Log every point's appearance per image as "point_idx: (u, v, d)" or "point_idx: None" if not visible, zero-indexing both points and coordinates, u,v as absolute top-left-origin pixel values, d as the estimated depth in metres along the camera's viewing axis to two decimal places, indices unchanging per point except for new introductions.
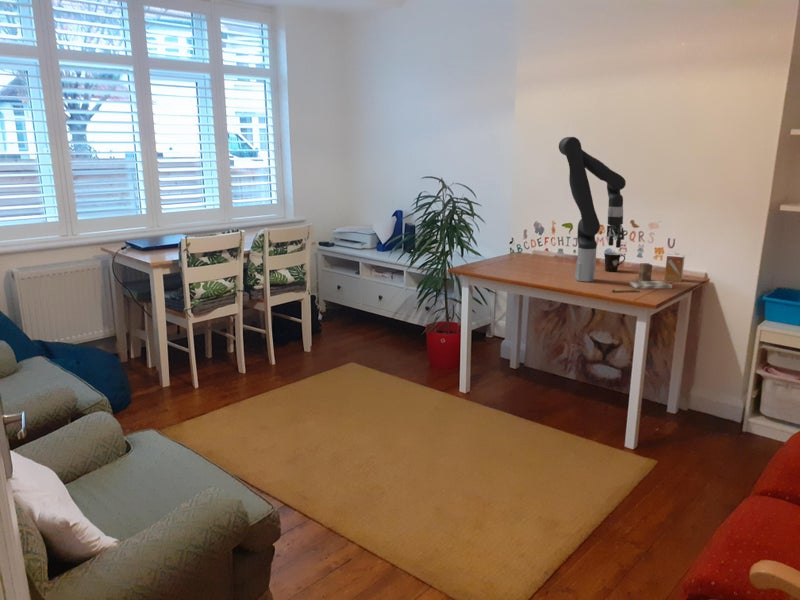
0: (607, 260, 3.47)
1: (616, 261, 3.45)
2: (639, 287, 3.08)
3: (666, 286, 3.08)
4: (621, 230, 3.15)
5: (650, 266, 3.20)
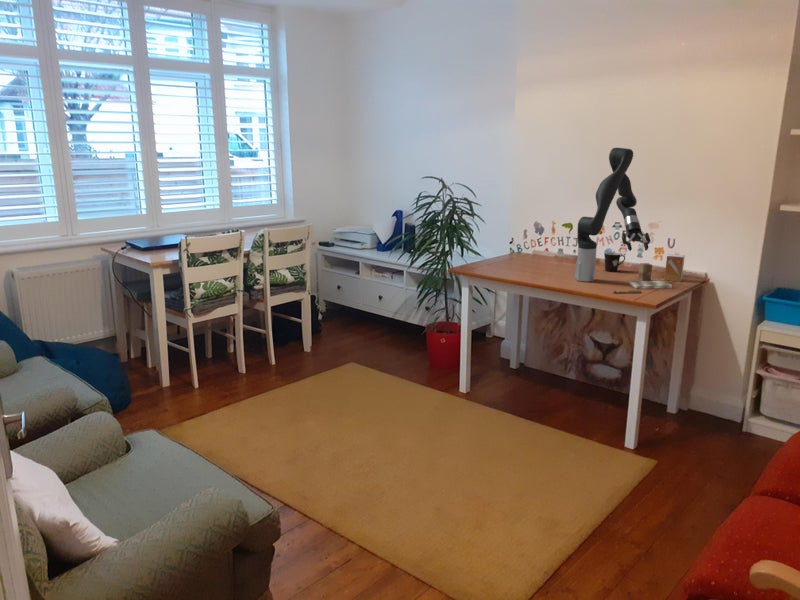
0: (607, 260, 3.47)
1: (616, 261, 3.45)
2: (639, 287, 3.08)
3: (666, 286, 3.08)
4: None
5: (650, 266, 3.20)
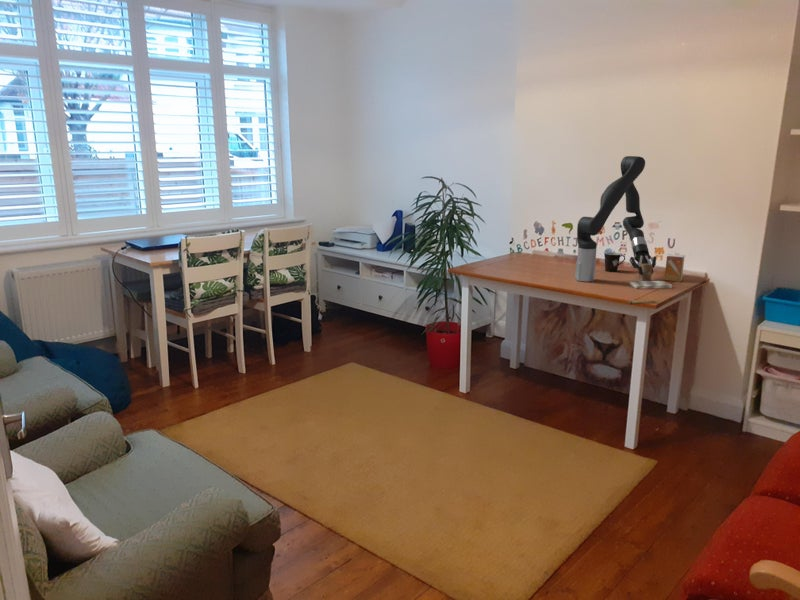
0: (607, 260, 3.47)
1: (616, 261, 3.45)
2: (639, 287, 3.08)
3: (666, 286, 3.08)
4: None
5: (650, 266, 3.20)
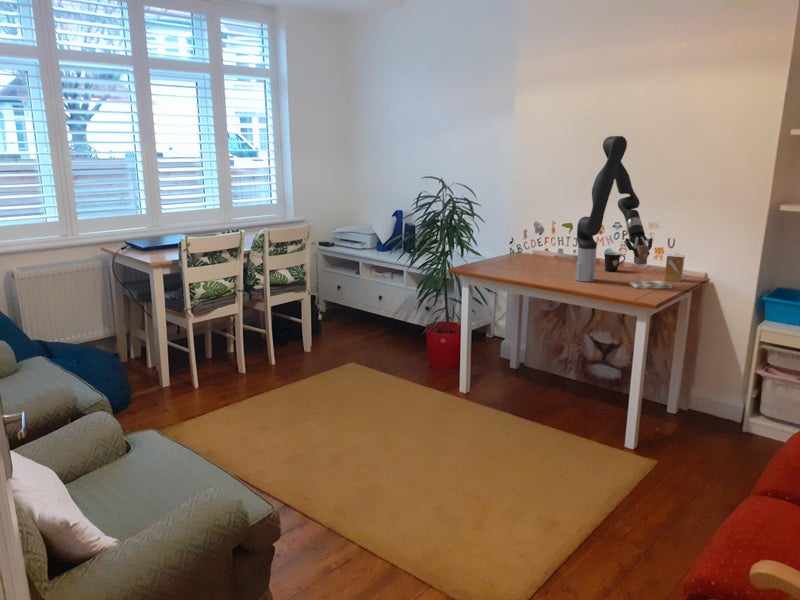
0: (607, 260, 3.47)
1: (616, 261, 3.45)
2: (639, 287, 3.08)
3: (666, 286, 3.08)
4: None
5: (646, 248, 3.06)
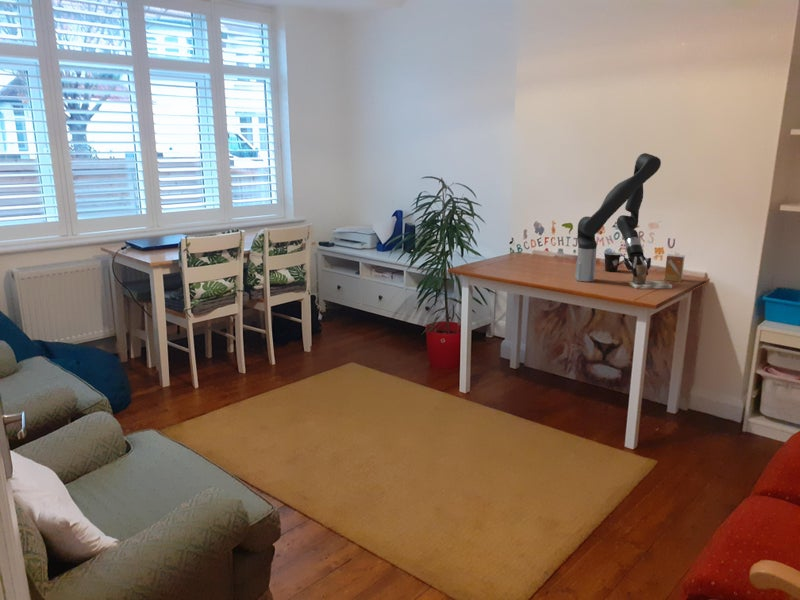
0: (607, 260, 3.47)
1: (616, 261, 3.45)
2: (639, 287, 3.08)
3: (666, 286, 3.08)
4: None
5: (645, 268, 3.08)
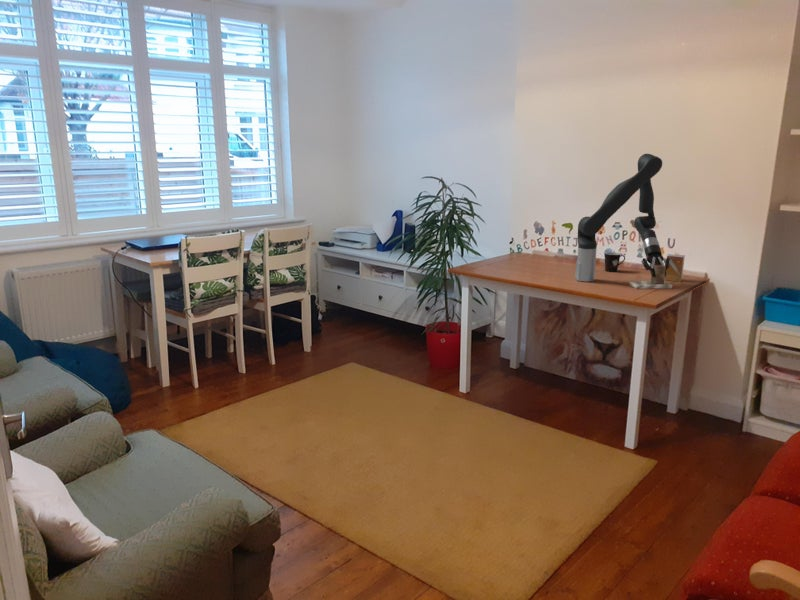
0: (607, 260, 3.47)
1: (616, 261, 3.45)
2: (639, 287, 3.08)
3: (666, 286, 3.08)
4: None
5: (663, 268, 3.08)
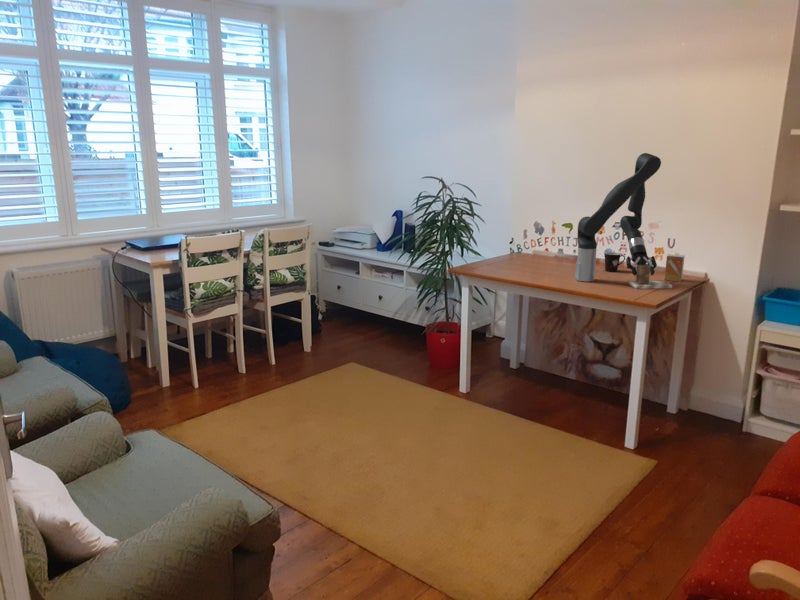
0: (607, 260, 3.47)
1: (616, 261, 3.45)
2: (639, 287, 3.08)
3: (666, 286, 3.08)
4: None
5: (648, 268, 3.08)
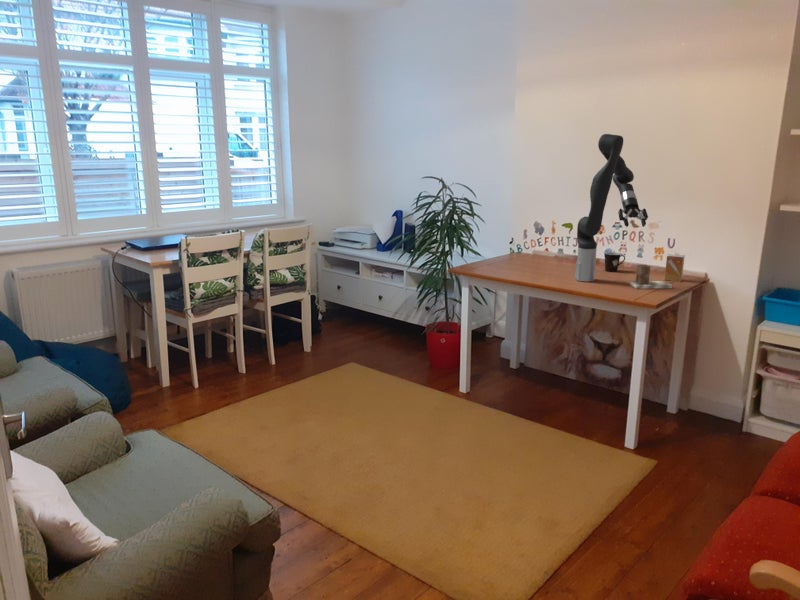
0: (607, 260, 3.47)
1: (616, 261, 3.45)
2: (639, 287, 3.08)
3: (666, 286, 3.08)
4: None
5: (648, 268, 3.08)
